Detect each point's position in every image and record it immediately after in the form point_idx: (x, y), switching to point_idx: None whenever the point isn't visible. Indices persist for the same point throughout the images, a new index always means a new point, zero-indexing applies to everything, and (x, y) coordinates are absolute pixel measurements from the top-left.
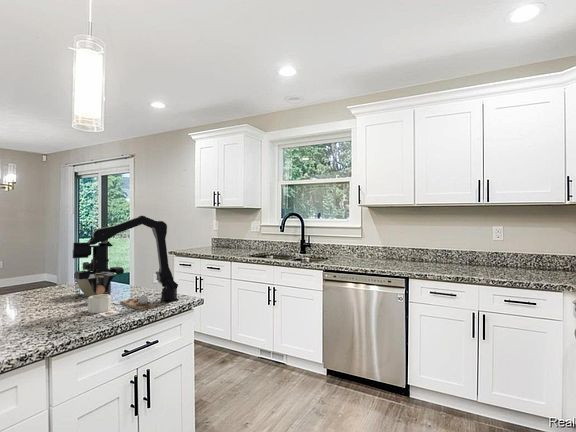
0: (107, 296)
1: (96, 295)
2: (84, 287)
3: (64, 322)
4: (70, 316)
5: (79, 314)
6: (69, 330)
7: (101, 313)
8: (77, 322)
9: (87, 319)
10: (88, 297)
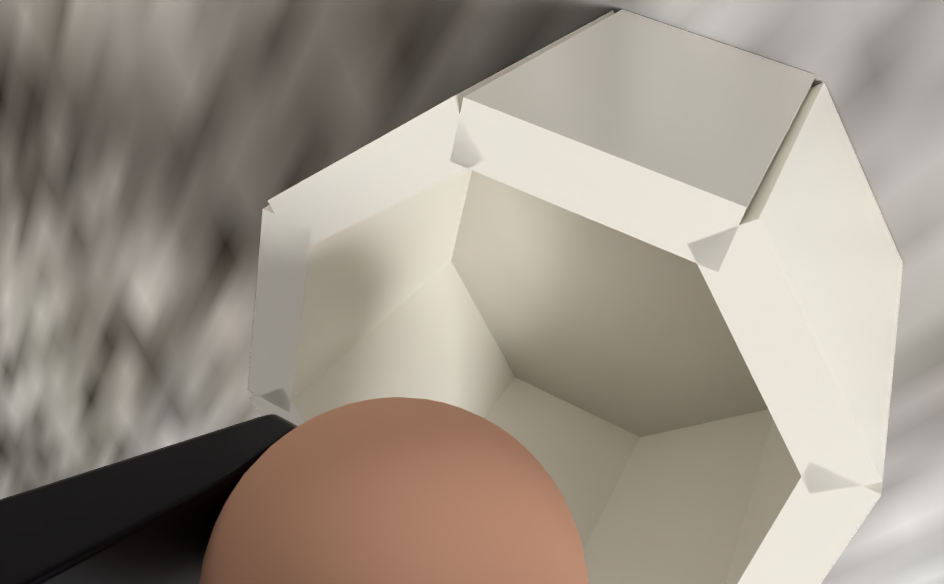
0: (764, 515)
1: (586, 215)
2: None
3: (38, 232)
4: (165, 59)
5: (290, 106)
6: (13, 475)
7: None
8: (126, 384)
9: (236, 420)
10: (294, 188)
